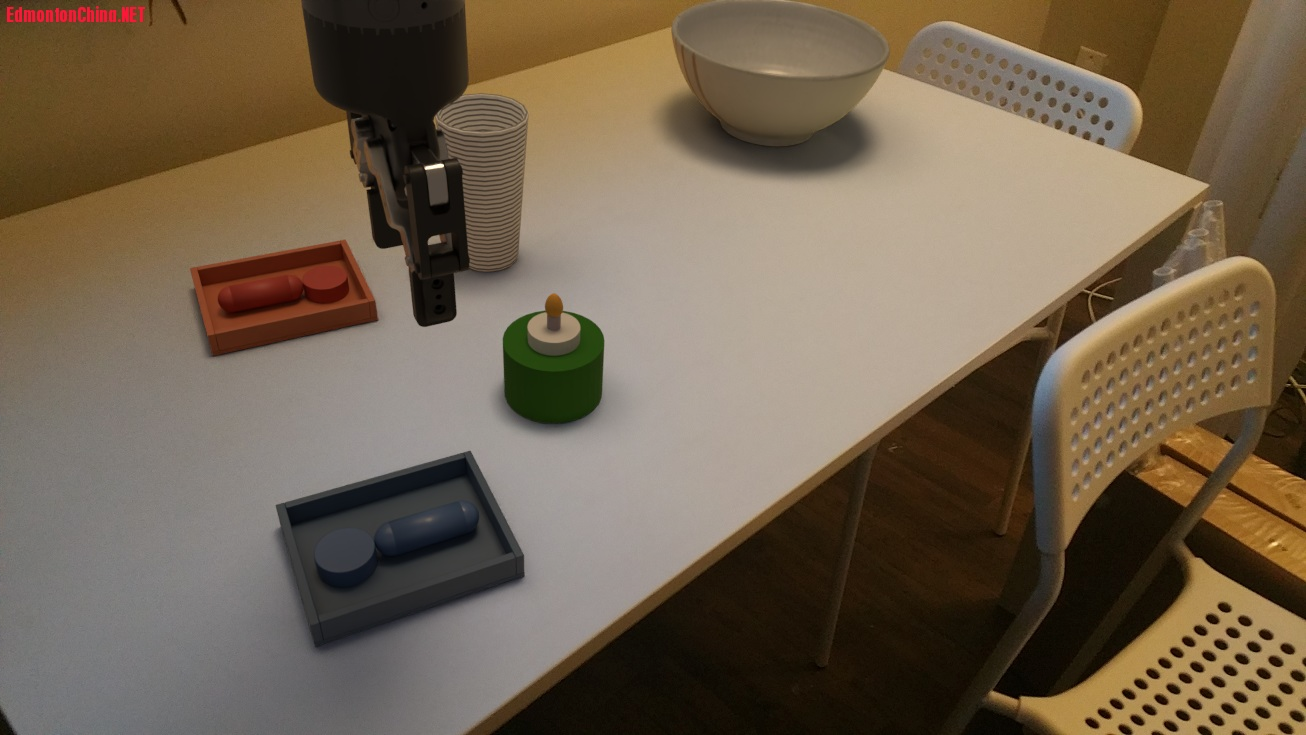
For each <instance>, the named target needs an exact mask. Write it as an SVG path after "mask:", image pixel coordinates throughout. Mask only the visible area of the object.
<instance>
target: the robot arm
mask: <svg viewBox="0 0 1306 735" xmlns="http://www.w3.org/2000/svg"><path fill="white" fill-rule="evenodd" d="M300 2H301V9H302V17H303V22H304V28H305V34H306V41H307V47H308V54H309V60H310V67H311V73H312V80H313V85H314V88H315V90H316V92H317V93H318V95H319V96H320V97H321V98H322V99H323V100H324V101H325V102H326V103H328V104H330V106H333V107H335V108H337V109H340V110H342V111H345V113H346V121H347V128H348V129H347V131H348V138H349V144H350V145H349V146H350V149H349V156H350V158H351V159H352V160H353V163H354V164H355V165H356V167H357V170H358V180H359V182H360V183H362V186H363V188H365V189H366V188H367V189H366V190H365V191H366V198H367V206H368V212H369V221H370V229H371V236H372V240H373V242H374V244H375V246H376V247H377V248H379V249H381V250H385V249H390V248H396V247H401V246H402V247H403V250H404V254H405V256H404V263H405V265H406V267H407V268H408V277H409V285H410V296H411V305H412V306H411V307H412V315H413V318H414V320H415V321H416V323H417V325H418V326H419V327H422V328H427V327H431V326H436V325H440V324H445V323H449V322H452V321H454V319H455V318H456V317H457V314H458V313H457V311H458V310H457V298H456V297H457V296H456V282H455V274H458V273H462V272H468V271H470V268H469V263H470V258H469V255H468V243H467V230H466V218H465V205H464V193H463V180H462V175H463V170H462V167H461V165H460V163H459V161H458V159H457V158H452V159H448V156H449V153H448V148H447V144H446V140H445V136H444V133H443V131H442V129H437V126H436V123H435V115H436V114H437V113H438V112H439V111H440V110H441V109H443V108H444V107H445V106H447V105H448V104H452V103H453V102H455V101H456V100H457V99H459V98H460V97H461V96H462V95H464V94H465V92H466V90H467V89H468V87H469V81H470V73H469V54H468V53H469V52H468V33H467V16H466V0H300ZM368 188H370V189H368ZM438 236H439V240H440V242H436V243H431V244H429V240H430V239H431V238H432V237H438Z"/></svg>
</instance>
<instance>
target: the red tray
mask: <svg viewBox="0 0 1306 735" xmlns="http://www.w3.org/2000/svg"><path fill="white" fill-rule="evenodd" d="M319 266H336V267H340V268H342V269H343V270H345V272H346V273H347V277H348V284H349V292H348V294H347V295H346V296H345V297H344V298H343V299H341V300H339V301H336V302H332V303H316V302H313V301H310V300H309V299H308V298H307V297H306V296H305V292H304V290H303V293H302V295H301V296H300V297H299V298H298V299H296V300H293V301H288V302H283V303H278V304H273V305H268V306H263V307H259V308H254V309H249V310H244V311H239V312H227V311H225V310H223V309H222V308H221V307H220V305H219V303H218V294H219V292H220V291H221V290H222V289H223V288H225V287H227V286H231V285H236V284H242V283H247V282H252V281H257V280H262V279H268V278H273V277H278V276H283V275H294V276H297V277H298V278H299V279H300V280H301V281H302V278H303V275H304V274H305V273H306V272H307V271H309V270H311V269H313V268H316V267H319ZM189 271H190V275H191V279H192V282H193V286H194V290H195V295H196V298H197V301H198V305H199V310H200V313H201V317H202V321H203V325H204V329H205V333H206V336H207V340H208V343H209V346H210V351H211V355H212V356H213V357H214V356H219V355H223V354H227V353H233V352H237V351H242V350H246V349H252V348H255V347H260V346H265V345H269V344H273V343H279V342H282V341H283V342H284V341H287V340H292V339H297V338H302V337H306V336H311V335H315V334H320V333H324V332H328V331H333V330H337V329H343V328H347V327H352V326H357V325H361V324H365V323H366V324H367V323H369V322H376V321H378V320H379V317H378V309H377V302H376V299H375V296H374V295H373V292H372V290H371V288H370V286H369V283H368V282H367V280H366V278H365V276H364V274H363V272H362V270H361V268H360V265H359V264H358V261H357V260H356V258H355V255H354V254H353V251H352V249H351V247H350V245H349V244H348V240H347V239H340V240H336V241H329V242H324V243H318V244H314V245H309V246H303V247H297V248H292V249H287V250H281V251H275V252H270V253H264V254H259V255H253V256H247V257H242V258H238V259H232V260H227V261H221V262H216V263H210V264H205V265H200V266H193V267H190V268H189ZM302 283H303V282H302Z"/></svg>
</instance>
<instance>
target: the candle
mask: <svg viewBox="0 0 1306 735" xmlns="http://www.w3.org/2000/svg"><path fill="white" fill-rule="evenodd" d="M502 360H503V361H502V362H503V388H504V398H505V402H506V403H507V405H508V406H509V408H510V409H511V410H512V411H513V412H514V413H516V414H517V415H519V416H521V417H523V418H525V419H527V420H529V421H532V422H535V423H540V424H554V425H555V424H564V423H565V424H566V423H570V422H574V421H577V420H580V419H582V418H584V417H586V416H588V415H590V414H591V413H592V412H593V411H595V410H596V408H597V407H598V405H599V404H600V402H601V399H602V397H603V396H602V395H603V382H604V381H603V380H604V360H605V336H604V333H603V331H602V329H601V328H600V327H599V326H598V324H596V323H595V322H594V321H592V320H591V319H590V318H588V317H586V316H584V315H581V314H579V313H575V312H573V311H567V310H564V304H563V301H562V298H561V297H560V295H558V294H557V293H554V292H553V293H551V294H549V295H548V296H547V298H546V300H545V303H544V310H540V311H534V312H531V313H527V314H525V315H522V316H521V317H518V318H517V319H514V321H512V322H511V323H510V324H509V325H508V326H507V327H506V329H505V331H504V332H503V336H502Z"/></svg>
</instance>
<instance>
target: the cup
mask: <svg viewBox="0 0 1306 735" xmlns="http://www.w3.org/2000/svg"><path fill="white" fill-rule="evenodd" d="M529 114H530V112H529V111H528V109H527V108H526V105H525V104H523V103H522V102H520V101H518V100H517V99H515V98H513V97H509V96H505V95H502V94H494V93H483V92H480V93H479V92H478V93H466V94H465V93H464V94H463V95H462V96H461V97H460V98H459V99H457V100H456V101H455V102H453V103H452V104H448V105H447V106H445V107H444V108H443V109H441V110H440V111H439V112H438V113H437V114H436V115H435V117H434V121H435V126H436V129H442V131H443V133H444V136H445V140H446V144H447V148H448V153H449V156H448V159H452V158H457V159H458V161H459V163H460V165H461V167H462V170H463V175H462V180H463V193H464V205H465V218H466V230H467V243H468V255H469V258H470V263H469V269H471V270H474V271H477V272H488V273H491V272H497V271H502V270H504V269H507V268H510V267H511V266H512V265H513V264H514V263H515V262H517V259H518V256H519V252H520V237H521V224H522V208H523V196H524V184H525V169H526V155H527V142H528V128H529V117H530V116H529Z"/></svg>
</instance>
